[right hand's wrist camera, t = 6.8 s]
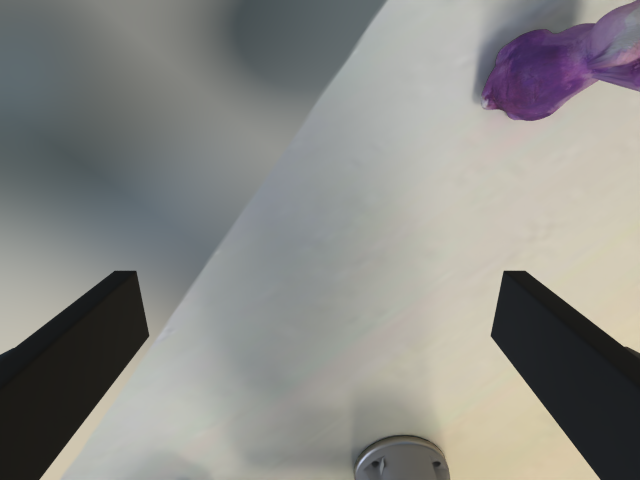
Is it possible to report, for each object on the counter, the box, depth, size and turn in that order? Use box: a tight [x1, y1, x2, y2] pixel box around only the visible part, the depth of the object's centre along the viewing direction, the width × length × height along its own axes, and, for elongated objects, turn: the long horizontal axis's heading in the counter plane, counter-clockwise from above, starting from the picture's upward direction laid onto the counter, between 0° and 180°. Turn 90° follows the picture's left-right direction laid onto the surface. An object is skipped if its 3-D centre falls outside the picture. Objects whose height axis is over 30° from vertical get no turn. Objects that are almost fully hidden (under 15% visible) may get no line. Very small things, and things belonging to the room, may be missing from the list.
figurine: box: [481, 0, 640, 121], centre depth 30 cm, size 9×10×15 cm
